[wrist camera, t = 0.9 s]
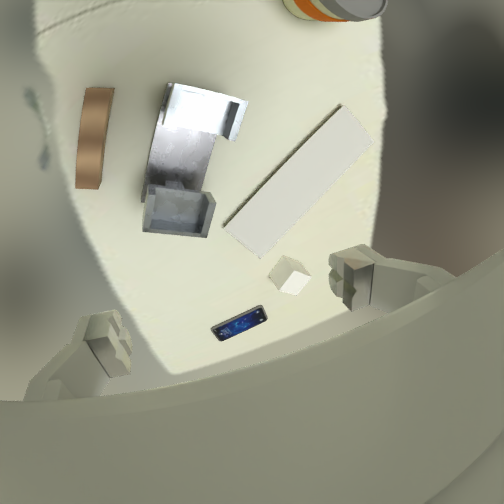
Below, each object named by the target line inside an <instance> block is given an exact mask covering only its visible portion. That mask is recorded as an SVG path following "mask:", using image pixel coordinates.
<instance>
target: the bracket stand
mask: <svg viewBox="0 0 504 504" xmlns="http://www.w3.org/2000/svg"><path fill="white" fill-rule="evenodd" d="M248 102H249V101H245V100H242V99H238V98H235V97H231V96H228V95H224V94H220V93H216V92H212V91H208V90H204V89H200V88H196V87H191V86H186V85H182V84H177V83H168V85H167V88H166V91H165V95H164V98H163V102H162V105H161V109H160V113H159V117H158V120H157V124H156V128H155V133H154V137H153V141H152V146H151V150H150V155H149V159H148V164H147V169H146V175H145V180H144V186H143V191H142V197H141V202H143V203H145V206H144V212H143V219H142V229H143V232H151V233H161V234H172V235H182V236H192V237H202V238H207V235H208V231H209V228H210V224H211V221H212V217H213V214H214V210H215V206H216V202H215V200H214V198H213V196H212V195H211V193H210V192H203V191H201V188H202V184H203V181H204V177H205V173H206V170H207V166H208V163H209V159H210V156H211V152H212V149H213V146H214V142H215V139H216V136H217V134H218V135H222V136H224V137H225V138H226V139H228V140H231V141H236V138H237V135H238V132H239V129H240V126H241V123H242V120H243V117H244V114H245V111H246V108H247V105H248Z"/></svg>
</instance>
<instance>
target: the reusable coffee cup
mask: <svg viewBox="0 0 504 504" xmlns="http://www.w3.org/2000/svg"><path fill="white" fill-rule="evenodd" d="M283 2H284V4H285V6H286V8H287V9H288V10H289V11H290V12H291V13H292V14H293V15H295V16H296V17H298V18H301V19H304V20H319V21H324V22H347V21H354V22H359V21H364V20H369V19H373V18H376V17H378V16H380V15H381V14H382V13H383V12H384V11H385V9H386V7H387V4H388V0H283Z"/></svg>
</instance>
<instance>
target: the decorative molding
mask: <svg viewBox="0 0 504 504" xmlns="http://www.w3.org/2000/svg"><path fill="white" fill-rule="evenodd" d="M373 143H374V141H373V139H372V138H371V137H370V136H369V134H368V133H367V132H366V130H365V129H364V128H363V126H362V125H361V124H360V123H359V121H358V120H357V119H356V118H355V117H354V115H353V114H352V113H351V112H350V111H349V109H348V108H347V107H346V106H345V105H343V106H342V107H341V108H340V109H339V110H338V111H336V112H335V113H334V114H333V115H332V116H331V117H330V118H329V119H328V120H327V121H326V122H325V123H324V124H323V125H322V126H321V127H320V128H319V129H318V130H317V131H316V132H315V133H314V134H313V135H312V136H311V137H310V138H309V139H308V140H307V141H306V142H305V143H304V144H303V145H302V146H301V147H300V148H299V149H298V150H297V151H296V152H295V153H294V154H293V155H292V156H291V157H290V158H289V159H288V160H287V161H286V162H285V163H284V164H283V165H282V166H281V167H280V168H279V169H278V170H277V172H276V173H275V174H274V175H273V176H272V177H271V178H270V179H269V180H268V181H267V182H266V183H265V184H264V185H263V186H262V187H261V188H260V189H259V190H258V191H257V192H256V193H255V195H254V196H253V197H252V198H251V199H250V200H249V201H248V202H247V203H246V204H245V205H244V206H243V207H242V208H241V209H240V211H239V212H238V213H237V214H236V215H235V216H234V217H233V218H232V219H231V220H230V221H229V222H228V224H227V225H226V226H225V227H224V230H226V231H227V232H228V233H229V234H231V235H232V236H233V237H234V238H236V239H237V240H238V241H239V242H240V243H242V244H243V245H244V246H245V247H247V248H248V249H249V250H250V251H252V252H253V253H254V254H255V255H257V256H258V257H259V258H260V259H261V258H262V257H263V256H264V255H265V254H266V253H267V252H268V251H269V250H270V249H271V248H272V247H273V246H274V245H275V244H276V243H277V242H278V241H279V240H280V239H281V238H282V237H283V236H284V235H285V234H286V233H287V232H288V231H289V230H290V229H291V227H292V226H293V225H294V224H295V223H296V222H297V221H298V220H299V219H300V218H301V217H302V216H303V215H304V214H305V213H306V212H307V211H308V210H309V209H310V208H311V207H312V206H313V205H314V204H315V203H316V202H317V201H318V200H319V199H320V198H321V197H322V196H323V195H324V194H325V193H326V192H327V190H328V189H329V188H330V187H331V186H332V185H333V184H334V183H335V182H336V181H337V180H338V179H339V178H340V177H341V176H342V175H343V174H344V173H345V172H346V171H347V170H348V169H349V168H350V167H351V166H352V165H353V163H354V162H355V161H356V160H357V159H358V158H359V157H360V156H361V155H362V154H363V153H364V152H365V151H366V150H367V149H368V148H369V147H370V146H371V145H372V144H373Z"/></svg>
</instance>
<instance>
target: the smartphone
mask: <svg viewBox="0 0 504 504" xmlns="http://www.w3.org/2000/svg"><path fill="white" fill-rule="evenodd" d="M267 319H268V318H267V315H266V313H265V311H264V308H263V306H262V305H258V306H256V307H254V308H252V309H250V310H248V311H246V312H244V313H241V314H239V315H237V316H235V317H233V318H231V319H229V320H226V321H224V322H222V323H220V324H218V325H215V326H213V327H212V328H211V331H212V332H213V334H214V335H215V336H216V338H217V339H218V340H219V341H224V340H226V339H229V338H231V337H233V336H235V335H237V334H239V333H242V332H244V331H246V330H248V329H250V328H252V327H254V326H257V325H259V324H261V323H263V322H265V321H266V320H267Z"/></svg>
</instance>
